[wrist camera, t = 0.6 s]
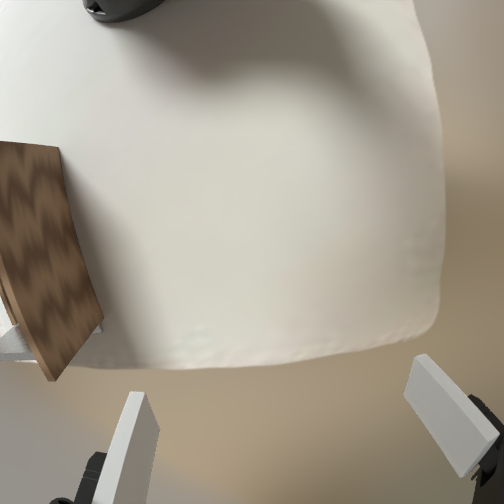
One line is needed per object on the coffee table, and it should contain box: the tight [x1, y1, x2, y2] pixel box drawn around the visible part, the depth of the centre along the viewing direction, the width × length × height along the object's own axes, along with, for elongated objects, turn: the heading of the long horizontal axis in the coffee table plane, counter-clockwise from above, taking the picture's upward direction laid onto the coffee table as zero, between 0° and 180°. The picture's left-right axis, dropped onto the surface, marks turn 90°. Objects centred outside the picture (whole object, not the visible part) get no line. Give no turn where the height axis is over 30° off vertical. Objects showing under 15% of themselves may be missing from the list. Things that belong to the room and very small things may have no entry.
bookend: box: [0, 323, 103, 361], centre depth 32 cm, size 4×18×12 cm, turn 102°
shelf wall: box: [0, 141, 104, 381], centre depth 27 cm, size 26×19×16 cm
